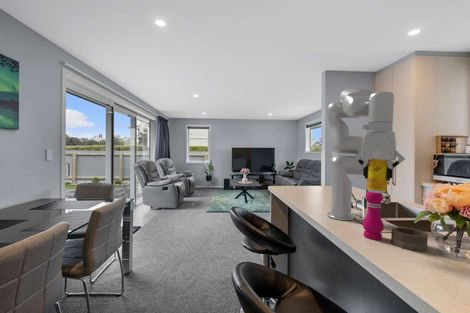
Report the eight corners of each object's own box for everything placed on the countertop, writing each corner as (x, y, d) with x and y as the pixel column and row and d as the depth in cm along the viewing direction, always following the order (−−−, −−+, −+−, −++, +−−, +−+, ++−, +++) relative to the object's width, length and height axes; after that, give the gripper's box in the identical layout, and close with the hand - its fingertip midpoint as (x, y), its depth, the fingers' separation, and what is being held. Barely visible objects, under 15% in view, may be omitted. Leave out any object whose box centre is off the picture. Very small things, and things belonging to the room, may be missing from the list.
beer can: (363, 190, 88) (365, 149, 88) (380, 190, 88) (382, 149, 88) (372, 193, 82) (374, 149, 82) (390, 193, 82) (392, 149, 82)
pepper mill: (386, 241, 90) (388, 188, 90) (365, 239, 92) (367, 187, 91) (379, 235, 97) (381, 185, 97) (359, 233, 99) (361, 184, 98)
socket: (393, 237, 94) (394, 225, 94) (427, 245, 88) (428, 231, 88) (389, 245, 86) (390, 231, 86) (426, 253, 80) (427, 239, 80)
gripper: (350, 128, 87) (348, 177, 88) (409, 126, 76) (405, 183, 77) (355, 129, 93) (353, 176, 93) (410, 128, 82) (408, 180, 82)
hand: (377, 178), depth 85 cm, fingers closed on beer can, 6 cm apart
